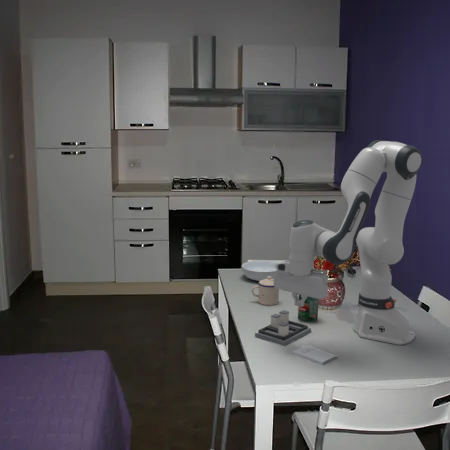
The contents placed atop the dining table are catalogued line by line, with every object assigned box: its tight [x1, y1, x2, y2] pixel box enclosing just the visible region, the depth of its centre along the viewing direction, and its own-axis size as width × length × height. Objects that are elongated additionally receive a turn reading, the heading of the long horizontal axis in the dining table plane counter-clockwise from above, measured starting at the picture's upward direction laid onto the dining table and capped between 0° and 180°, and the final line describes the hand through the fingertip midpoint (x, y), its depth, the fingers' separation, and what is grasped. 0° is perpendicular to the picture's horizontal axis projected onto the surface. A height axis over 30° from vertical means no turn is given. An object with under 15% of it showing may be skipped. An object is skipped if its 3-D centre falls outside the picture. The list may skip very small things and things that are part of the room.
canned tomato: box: [297, 294, 319, 324], centre depth 227 cm, size 8×8×11 cm
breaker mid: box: [270, 313, 281, 328], centre depth 213 cm, size 2×3×5 cm
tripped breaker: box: [278, 322, 289, 337], centre depth 204 cm, size 2×3×5 cm
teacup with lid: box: [251, 276, 280, 306], centre depth 247 cm, size 12×9×12 cm
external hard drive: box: [292, 344, 338, 366], centre depth 193 cm, size 2×8×12 cm
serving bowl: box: [241, 260, 279, 282], centre depth 283 cm, size 21×21×7 cm
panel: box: [254, 320, 312, 347], centre depth 211 cm, size 13×18×2 cm
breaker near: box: [278, 309, 290, 323], centre depth 217 cm, size 2×3×5 cm
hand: (299, 305), depth 199 cm, fingers closed
